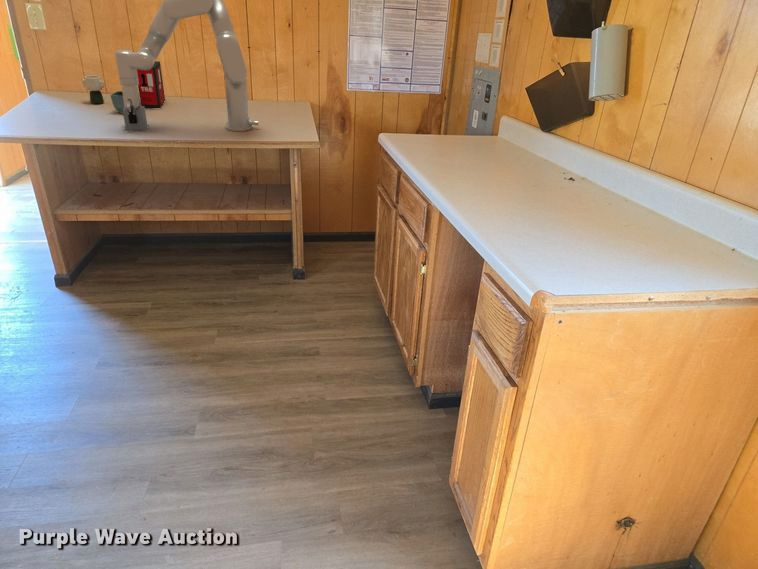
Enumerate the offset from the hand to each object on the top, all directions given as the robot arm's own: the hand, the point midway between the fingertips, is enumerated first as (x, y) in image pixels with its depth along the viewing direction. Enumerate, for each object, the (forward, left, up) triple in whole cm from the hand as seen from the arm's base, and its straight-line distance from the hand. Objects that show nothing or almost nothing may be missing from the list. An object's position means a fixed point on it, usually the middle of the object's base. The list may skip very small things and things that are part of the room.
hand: (135, 120), depth 238 cm
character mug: (+27, -42, -4) cm, 50 cm away
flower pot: (+10, -26, -4) cm, 28 cm away
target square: (0, 0, -3) cm, 3 cm away
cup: (0, 0, -3) cm, 3 cm away
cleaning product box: (0, -43, -4) cm, 43 cm away
